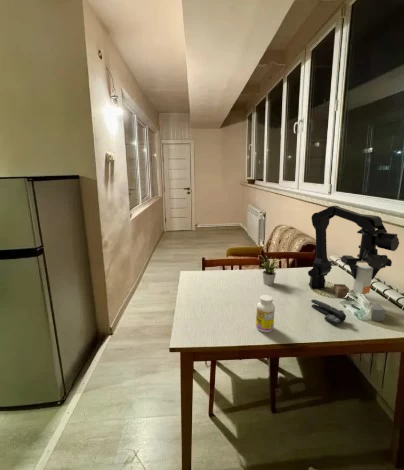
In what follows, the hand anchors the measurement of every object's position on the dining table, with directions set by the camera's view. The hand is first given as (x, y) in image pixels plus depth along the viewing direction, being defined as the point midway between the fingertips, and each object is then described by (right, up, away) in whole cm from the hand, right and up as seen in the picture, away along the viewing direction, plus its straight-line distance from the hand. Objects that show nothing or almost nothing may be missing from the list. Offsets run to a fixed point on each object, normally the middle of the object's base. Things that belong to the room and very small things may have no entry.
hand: (363, 279), depth 117 cm
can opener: (-19, -15, -5) cm, 25 cm away
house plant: (-36, -7, +28) cm, 46 cm away
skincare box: (0, -7, +2) cm, 7 cm away
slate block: (0, -15, -7) cm, 16 cm away
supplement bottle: (-47, -17, -15) cm, 52 cm away
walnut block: (-3, -10, +13) cm, 17 cm away
